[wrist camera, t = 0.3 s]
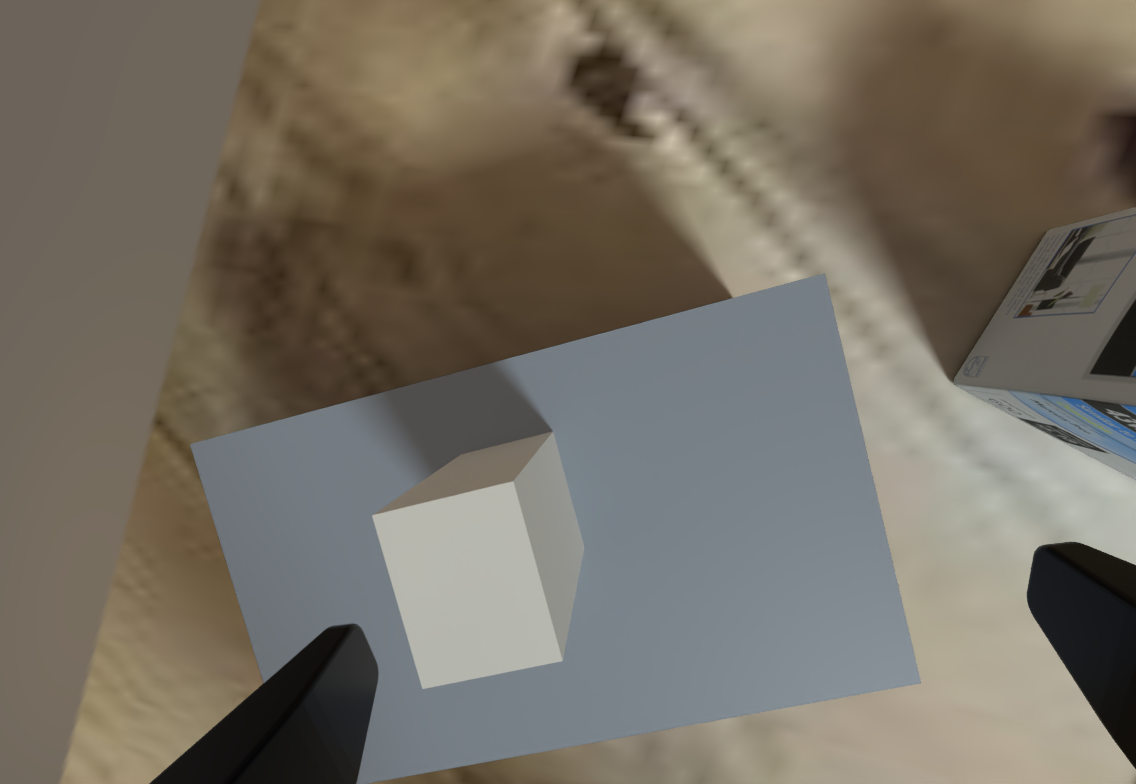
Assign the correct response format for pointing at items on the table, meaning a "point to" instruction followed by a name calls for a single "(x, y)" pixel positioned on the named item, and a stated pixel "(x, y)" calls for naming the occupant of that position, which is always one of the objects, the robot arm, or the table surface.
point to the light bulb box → (1068, 341)
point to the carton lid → (578, 537)
